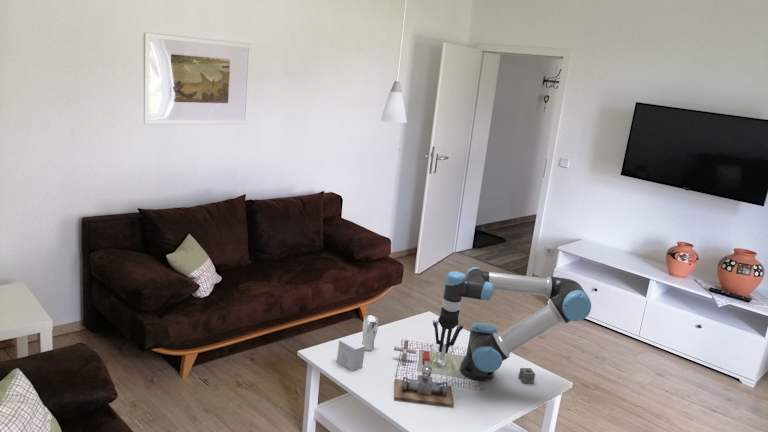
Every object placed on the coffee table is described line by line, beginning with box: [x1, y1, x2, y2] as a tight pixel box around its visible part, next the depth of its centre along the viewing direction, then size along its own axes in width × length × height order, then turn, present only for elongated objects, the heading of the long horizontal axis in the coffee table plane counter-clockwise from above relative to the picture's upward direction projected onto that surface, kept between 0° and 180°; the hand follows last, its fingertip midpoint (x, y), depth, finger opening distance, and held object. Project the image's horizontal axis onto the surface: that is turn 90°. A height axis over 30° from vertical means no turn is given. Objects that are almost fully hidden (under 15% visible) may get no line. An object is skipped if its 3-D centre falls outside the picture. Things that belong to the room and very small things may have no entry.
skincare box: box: [336, 336, 365, 372], centre depth 269 cm, size 10×6×10 cm, turn 48°
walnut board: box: [393, 378, 455, 409], centre depth 253 cm, size 24×14×2 cm, turn 89°
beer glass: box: [361, 314, 379, 352], centre depth 284 cm, size 7×7×15 cm
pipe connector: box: [393, 338, 417, 362], centre depth 278 cm, size 10×10×10 cm
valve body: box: [402, 374, 448, 396], centre depth 252 cm, size 18×6×8 cm, turn 89°
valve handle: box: [421, 350, 433, 377], centre depth 257 cm, size 4×16×3 cm, turn 179°
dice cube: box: [518, 367, 536, 385], centre depth 274 cm, size 5×5×5 cm
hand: (441, 359), depth 261 cm, fingers closed
